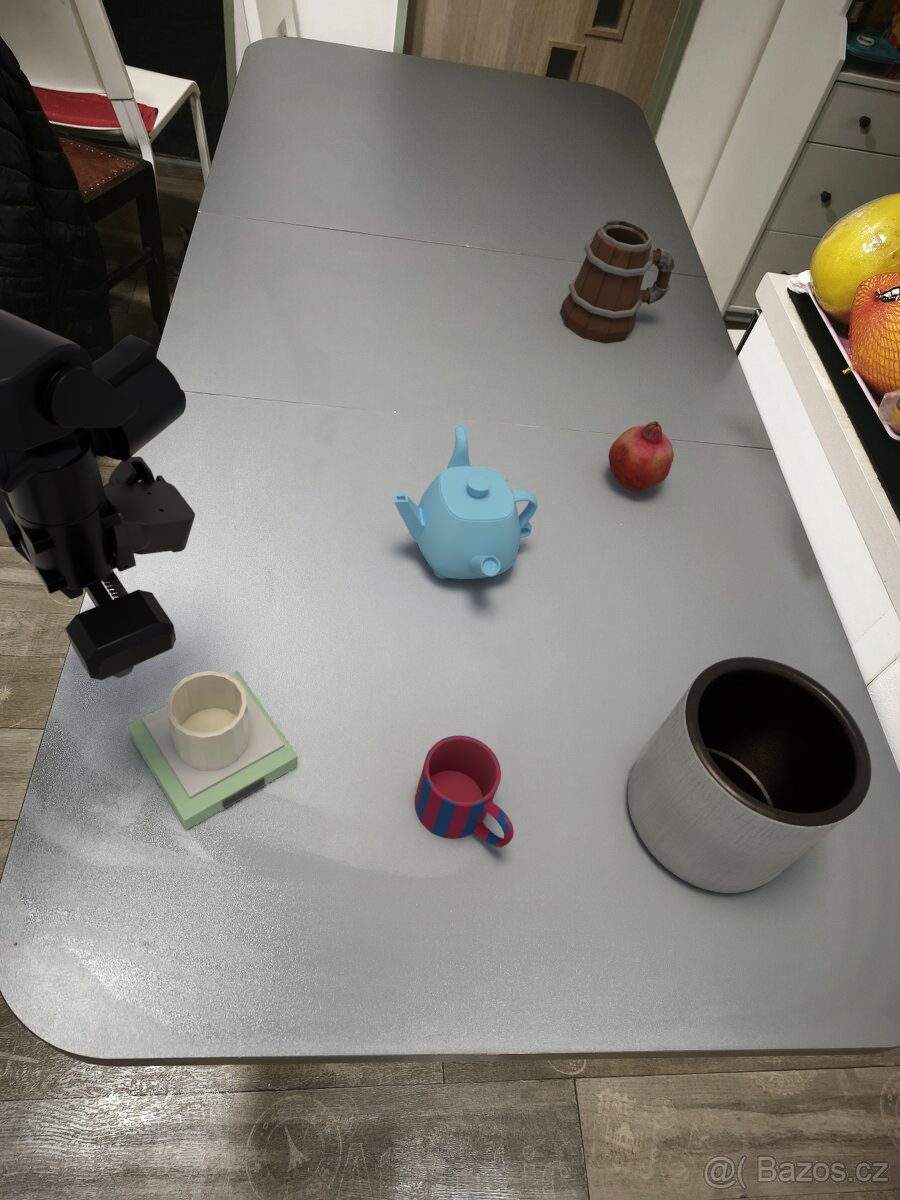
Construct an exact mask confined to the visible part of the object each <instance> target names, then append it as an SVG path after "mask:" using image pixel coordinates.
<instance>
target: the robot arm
mask: <svg viewBox="0 0 900 1200" xmlns="http://www.w3.org/2000/svg"><path fill="white" fill-rule="evenodd" d="M186 408H187V398H186V393H185V391H184V390H183V389H182V388H181V385H180V383H179V381H178V380H177V378H176V377H175V375H174V374H173V372H172V371H171V370H170V369H169V367H168V366H166V364H164V363H163V361H161V360H160V359H159V358H158V356H157V349H156V345H155V344H153V343H151V342H149V341H146V340H145V339H142V338H140V337H137V336H136V335H133V334H129V335H127V336H126V337H124V338H123V339H121V340H120V341H119V342H117V344H116V345H114V347H113V348H111V350H109V351H108V352H106V353H105V354H103V355H102V356H101V357H99V358H98V359H96V360H94V361H93V360H92V358H91V356H90V354H88V352H87V349H85V348H84V347H83V346H81V345H79V344H78V343H77V342H75V341H72V340H71V339H68V338H65V337H63V336H61V335H59V334H57V333H54V332H52V331H50V330H48V329H46V328H44V327H41V326H39V325H37V324H35V323H32V322H30V321H28V320H26V319H23V318H21V317H19V316H17V315H15V314H13V313H10V312H9V311H6V310H4V309H1V308H0V528H1V529H2V530H3V532H4V534H5V535H6V537H7V538H8V539H9V541H10V544H11V545H12V547H13V548H14V550H15V552H17V553H18V554H19V555H20V556H21V557H22V558H24V560H26V561H27V562H28V563H29V564H30V565H31V566H32V567H33V569H34V571H35V572H36V574H37V575H38V577H39V579H40V580H41V582H42V584H43V585H44V587H45V589H46V591H47V592H48V594H49V595H52V594H54V593H56V592H59V591H60V592H61V593H62V594H63V595H65V596H66V597H67V598H68V599H70V600H74V599H77V598H79V597H81V596H83V595H84V590H85V592H86V594H87V595H88V597H89V599H90V600H91V603H92V604H93V605H94V607H92V608H89V609H87V610H84V611H82V612H80V613H77V614H75V615H74V616H73V618H72V619H71V621H70V622H69V623H68V624H67V625H66V626H65V633H66V635H67V638H68V640H69V642H70V644H71V646H72V648H73V650H74V652H75V654H76V656H77V658H78V659H79V661H80V663H81V665H82V667H83V668H84V670H85V672H87V674H88V676H89V678H90V679H93V680H98V681H104V680H106V679H109V678H111V677H115V678H116V679H121V678H124V677H126V676H128V675H131V674H132V672H133V670H134V668H135V666H137V665H139V664H142V663H144V662H146V661H149V660H151V659H153V658H156V657H157V656H159V655H161V654H164V653H166V652H169V651H170V650H172V649H173V648H174V647H175V644H176V642H177V637H176V631H175V625H174V623H173V622H172V620H171V618H170V617H169V615H168V614H167V613H166V611H165V609H164V608H163V607H162V605H161V604H160V602H159V601H158V599H157V598H156V596H155V594H154V593H153V592H151V591H146V590H141V589H136V590H133V591H131V592H128V591H127V589H126V588H125V586H124V585H123V583H122V582H121V580H120V579H119V577H118V575H117V574H116V572H115V571H114V570H115V569H117V571H118V572H124V571H126V570H129V569H131V568H134V567H136V566H137V563H136V558H135V555H140V556H141V555H151V554H157V553H158V554H159V553H165V552H172V553H179V552H183V551H184V550H185V549H186V547H187V544H188V541H189V537H190V534H191V531H192V527H193V524H194V521H195V518H196V513H195V511H194V510H193V508H192V506H190V504H189V503H188V501H187V500H186V499H185V498H184V496H183V495H182V494H181V493H180V491H179V490H178V488H176V486H175V485H173V484H172V483H170V482H167V481H166V480H165V477H163V476H162V475H156V476H155V477H156V478H155V477H154V473H153V471H152V469H151V468H150V466H149V465H148V464H147V462H146V461H145V460H144V458H143V457H142V456H134V455H135V454H137V453H138V452H139V451H140V450H142V448H144V447H145V446H146V445H148V444H149V443H150V442H151V441H152V440H153V439H155V438H156V437H157V436H159V435H160V434H161V433H162V432H163V431H164V430H166V429H167V428H168V427H169V426H170V425H172V424H173V423H174V422H176V421H177V420H178V419H179V418H180V417H181V416H182V415H184V413H185V410H186ZM97 457H102V458H103V457H107V458H109V459H112V460H116V461H120V462H119V463H118V464H117V466H116V467H114V470H112V472H111V473H110V475H109V479H108V483H106V484H104V483H103V479H102V475H101V471H100V466H99V461H98V458H97Z"/></svg>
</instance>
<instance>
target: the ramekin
mask: <svg viewBox="0 0 900 1200" xmlns="http://www.w3.org/2000/svg"><path fill="white" fill-rule="evenodd" d="M166 705H167V714H168V719H169V724H170V728H171V733H172V738H173V742H174V747H175V749H176V751H177V754H178V755H179V757H180V758H181V759H182V760H183V761H184V762H185V763H186V764H187V765H189V766H191V767H193V768H196V769H199V770H206V771H211V770H218V769H222V768H225V767H227V766H229V765H231V764H232V763H234V762H235V761H236V760H238V759H239V758H240V757H241V755H242V754H243V753H244V751H245V749H246V747H247V745H248V741H249V723H248V709H247V700H246V693H245V690H244V689H243V687H242V686H241V685H240V683H239V682H238V681H237V680H236V679H234V678H232V677H231V676H229V674H227V673H225V672H220V671H215V670H208V671H199V672H195V673H193V674H190V675H189V676H186V677H185V678H182V679H180V681H179V682H178V683H177V684H176V685H175V686H174V687H173V688H172V690H171V691H170V694H169V696H168V698H167V700H166Z"/></svg>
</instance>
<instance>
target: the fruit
mask: <svg viewBox="0 0 900 1200" xmlns="http://www.w3.org/2000/svg"><path fill="white" fill-rule="evenodd" d="M608 451H609V452H608V462H609V464H608V465H609V468H610V471H611V473H612V475H613V476H614V478H615V479H616V480H617V482H618V483H620V485H621V486H622V487H624V488H626V489H627V490H628V491H638V492H639V491H640V492H642V491H646V490H647V491H648V490H650V489H653V488H655V487H656V486H658V485H660V484H661V483H662V482H664V481H665V480H666V479H667V477H668V476H669V474H670V470H671V468H672V465H673V462H674V455H675V453H674V448H673V444H672V442H671V440H670V439H669V438H668V436H667V435H666V434H665V433H664V432H663V428H662V425H661V424H660V422H659V421H656V420H655V421H651V422H648V423H647V424H646V425H636V426H631V427H630V428H627V430H625V431H624V432H622V433H621V434H620V435H619V436H618V437H617V438H616V440H614V441H613V443H612V444H611V446H610V447H609V450H608Z"/></svg>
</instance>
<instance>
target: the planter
mask: <svg viewBox="0 0 900 1200" xmlns="http://www.w3.org/2000/svg"><path fill="white" fill-rule="evenodd" d="M871 782H872V760H871V754H870V751H869V747H868V744H867V741H866V738H865V736H864V734H863V732H862V730H861V728H860V727H859V724H858V723H857V721H856V720H855V718H854V717H853V716H852V714H851V712H850V711H849V710H848V709H847V708H846V706H845V705H844V704H843V703H842V701H840V699H838V698H837V696H835V694H833V693H832V692H831V691H830V690H829V689H828V688H826V686H824V685H823V684H821V683H820V682H819V681H817V680H816V679H814V677H812V676H810V675H808V674H807V673H805V672H802V671H801V670H799V669H797V668H795V667H792V666H791V665H788V664H786V663H783V662H781V661H780V662H779V661H776V660H773V659H770V658H769V659H768V658H764V657H757V656H736V657H730V658H725V659H723V660H720V661H717V662H714V663H713V664H711V665H709V666H707V667H706V668H704V670H702V671H700V673H698V675H697V676H696V677H695V678H694V679H693V681H692V682H691V683H690V685H689V687H688V688H687V689H686V690H685V692H684V693H683V695H682V696H681V698H680V699H679V700H678V702H677V703H676V705H674V707H673V709H672V710H671V711H670V713H668V716H667V717H666V718H665V720H664V721H663V722H662V723H661V725H660V726H659V728H658V729H657V731H655V732H654V734H653V735H652V737H651V739H649V741H648V742H647V743H646V745H645V747H644V748H642V750H641V752H640V753H639V754H638V756H637V758H636V759H635V762H634V764H633V766H632V769H631V771H630V775H629V778H628V782H627V804H628V809H629V814H630V817H631V821H632V823H633V826H634V828H635V830H636V831H637V834H638V836H639V838H640V839H641V841H642V842H643V844H644V845H645V847H646V848H647V850H648V851H649V853H651V855H652V856H653V857H654V858H655V859H656V860H657V861H658V862H659V863H660V864H661V865H662V866H664V868H666V869H667V870H668V871H669V872H671V873H672V874H673V875H675V876H676V877H678V878H680V880H682V881H684V882H686V883H689V884H691V885H693V886H695V887H698V888H700V889H703V890H707V891H711V892H714V893H721V894H737V893H738V894H739V893H744V892H748V891H752V890H755V889H758V888H760V887H762V886H764V885H766V884H768V883H769V882H771V881H772V880H774V879H775V878H776V877H778V876H779V875H781V874H782V872H784V871H785V870H786V869H787V868H788V867H790V866H791V865H793V864H794V863H795V862H796V861H797V860H798V859H800V858H801V857H802V856H803V855H804V854H806V852H808V851H809V850H810V849H811V848H812V847H814V846H815V845H817V843H818V842H820V841H821V840H822V839H824V838H825V837H826V836H827V835H829V834H830V833H831V832H832V831H833V830H835V829H836V828H837V827H839V826H840V825H841V824H842V823H843V822H845V821H846V820H847V819H849V818H850V817H851V816H852V815H853V814H855V813H856V812H857V811H858V809H859V808H861V806H862V805H863V803H864V801H865V800H866V798H867V796H868V794H869V791H870V787H871Z"/></svg>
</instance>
